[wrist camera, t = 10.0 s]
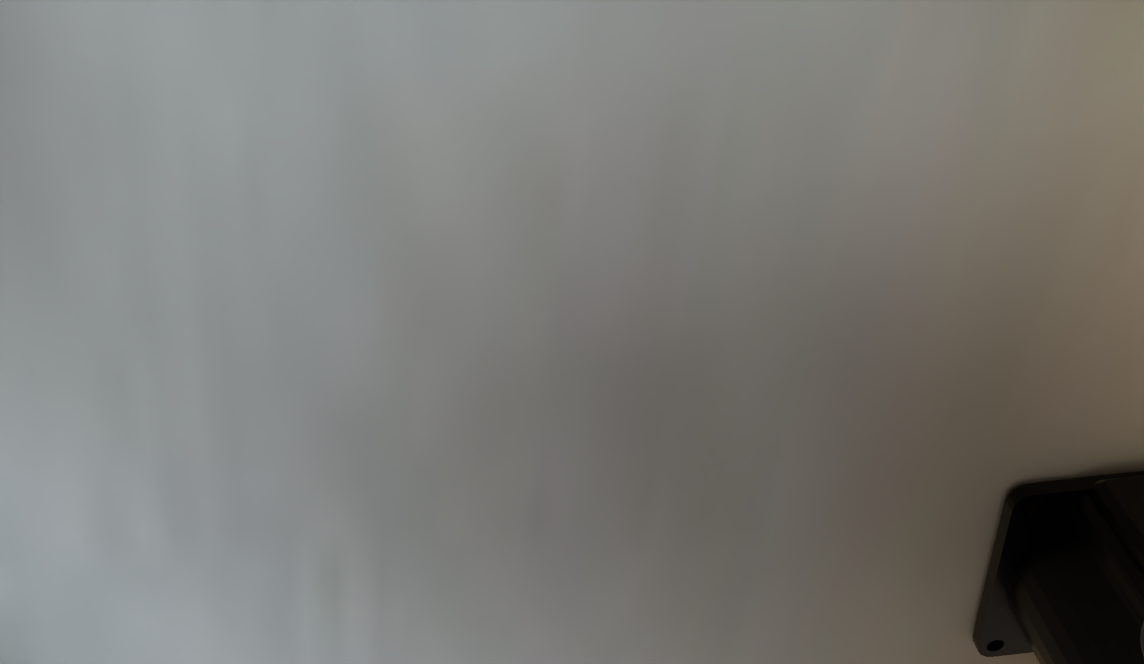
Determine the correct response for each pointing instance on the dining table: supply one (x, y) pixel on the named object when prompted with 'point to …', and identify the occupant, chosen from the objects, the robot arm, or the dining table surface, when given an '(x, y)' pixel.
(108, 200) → the dining table surface
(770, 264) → the dining table surface
